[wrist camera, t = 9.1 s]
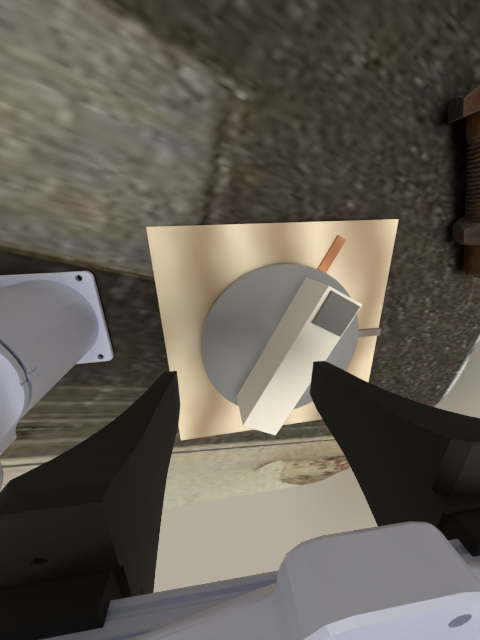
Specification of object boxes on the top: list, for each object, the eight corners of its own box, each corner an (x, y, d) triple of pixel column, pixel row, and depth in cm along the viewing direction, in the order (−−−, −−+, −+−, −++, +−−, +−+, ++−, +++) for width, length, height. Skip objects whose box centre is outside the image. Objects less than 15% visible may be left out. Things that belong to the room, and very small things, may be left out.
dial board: (182, 425, 25) (180, 442, 23) (151, 228, 18) (145, 226, 16) (352, 401, 28) (364, 414, 26) (382, 220, 21) (401, 218, 19)
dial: (301, 421, 24) (323, 462, 20) (175, 379, 20) (168, 419, 16) (380, 306, 21) (428, 324, 17) (248, 230, 17) (265, 227, 13)
